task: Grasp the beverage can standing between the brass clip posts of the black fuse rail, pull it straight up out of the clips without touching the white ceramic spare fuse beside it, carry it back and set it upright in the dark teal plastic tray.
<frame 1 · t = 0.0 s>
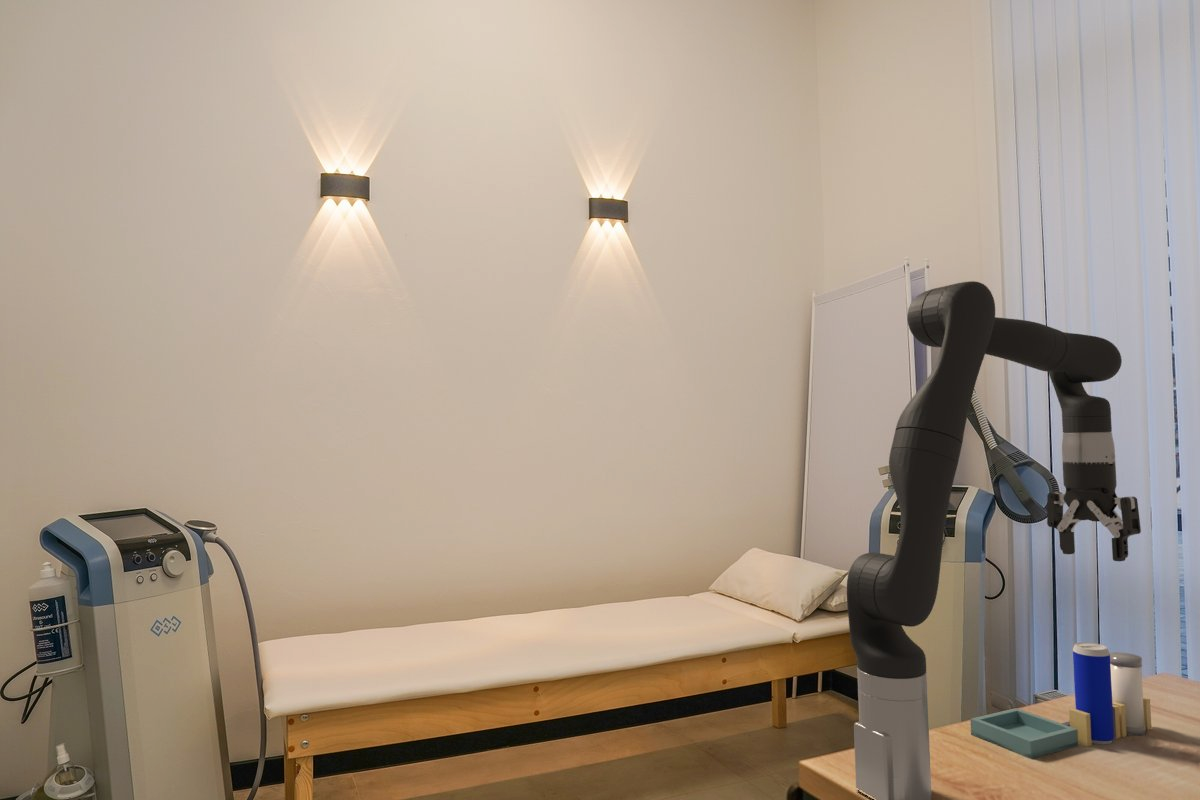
hand: (1093, 557, 130), 29 cm above the table, fingers open, 8 cm apart
tray: (1023, 739, 127), on the table
beverage can: (1095, 740, 127), on the table
spare fuse: (1128, 730, 131), on the table
fuse block: (1095, 739, 127), on the table
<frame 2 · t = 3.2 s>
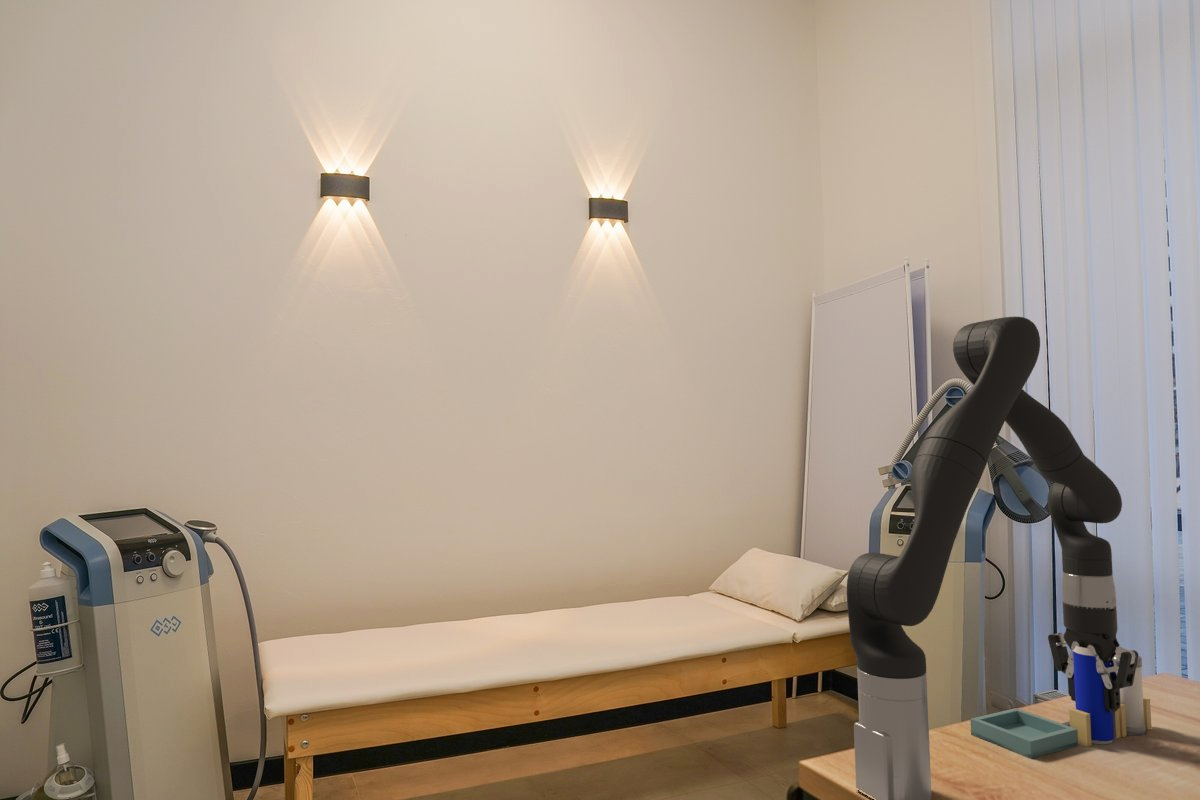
hand: (1094, 705, 127), 5 cm above the table, fingers closed on beverage can, 5 cm apart
beverage can: (1095, 740, 127), on the table, touching gripper
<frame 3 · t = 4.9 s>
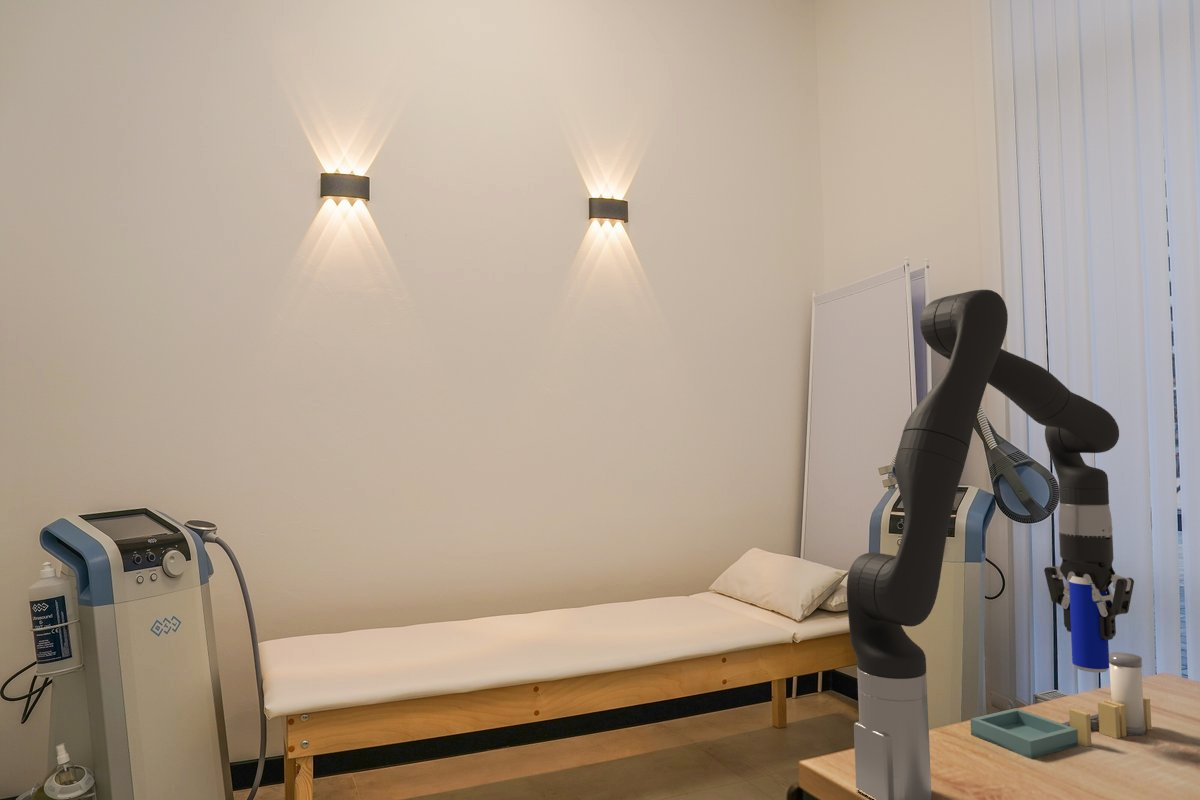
hand: (1089, 634, 128), 17 cm above the table, fingers closed on beverage can, 5 cm apart
beverage can: (1090, 669, 128), point 11 cm above the table, touching gripper
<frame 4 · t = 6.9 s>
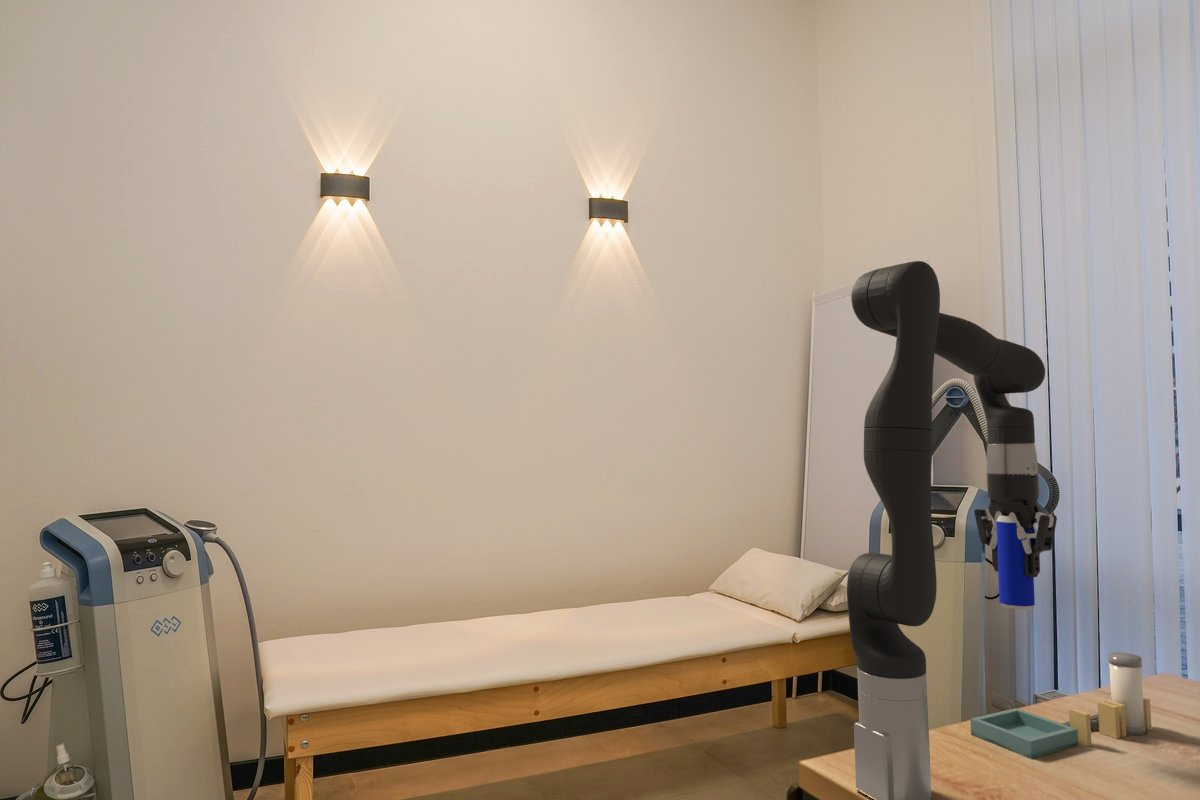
hand: (1016, 573, 129), 27 cm above the table, fingers closed on beverage can, 5 cm apart
beverage can: (1017, 608, 128), point 21 cm above the table, touching gripper
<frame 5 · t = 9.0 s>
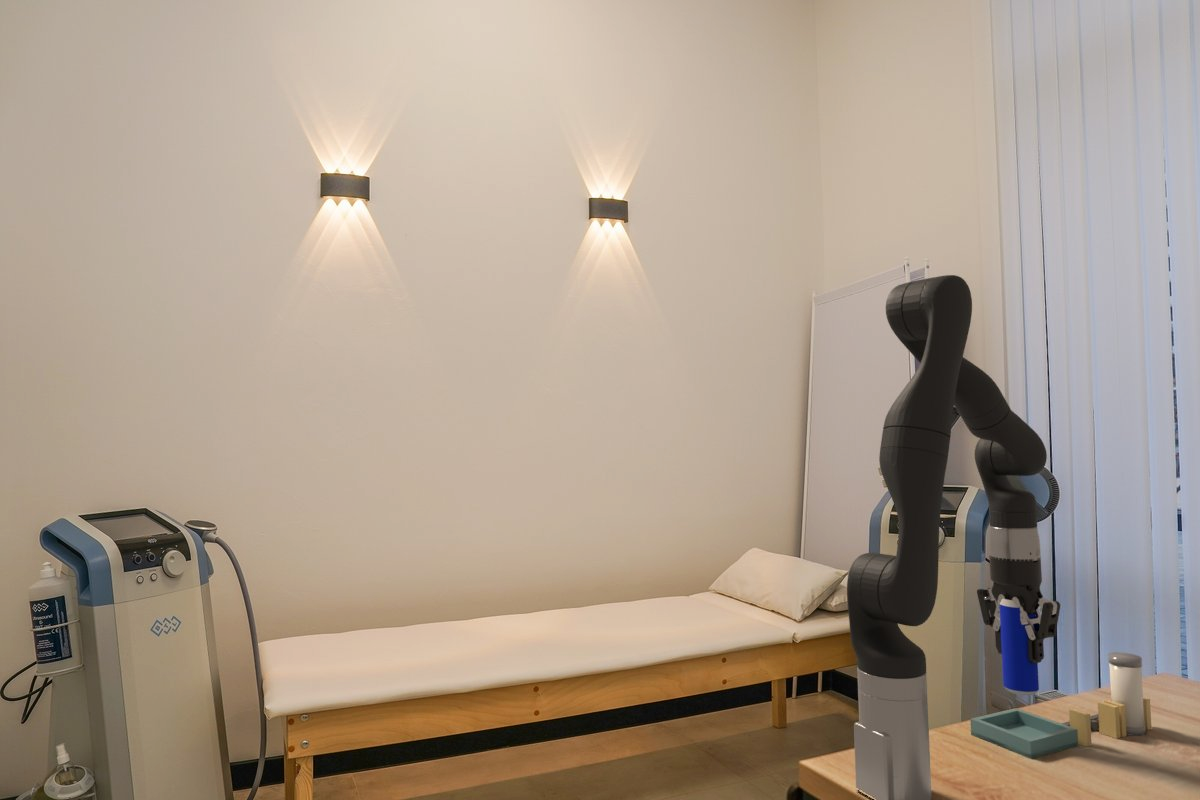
hand: (1019, 657, 128), 13 cm above the table, fingers closed on beverage can, 5 cm apart
beverage can: (1021, 691, 128), point 8 cm above the table, touching gripper
when the fingers open (7 cm above the table, at t = 10.6 s): beverage can stays where it is, resting on tray.
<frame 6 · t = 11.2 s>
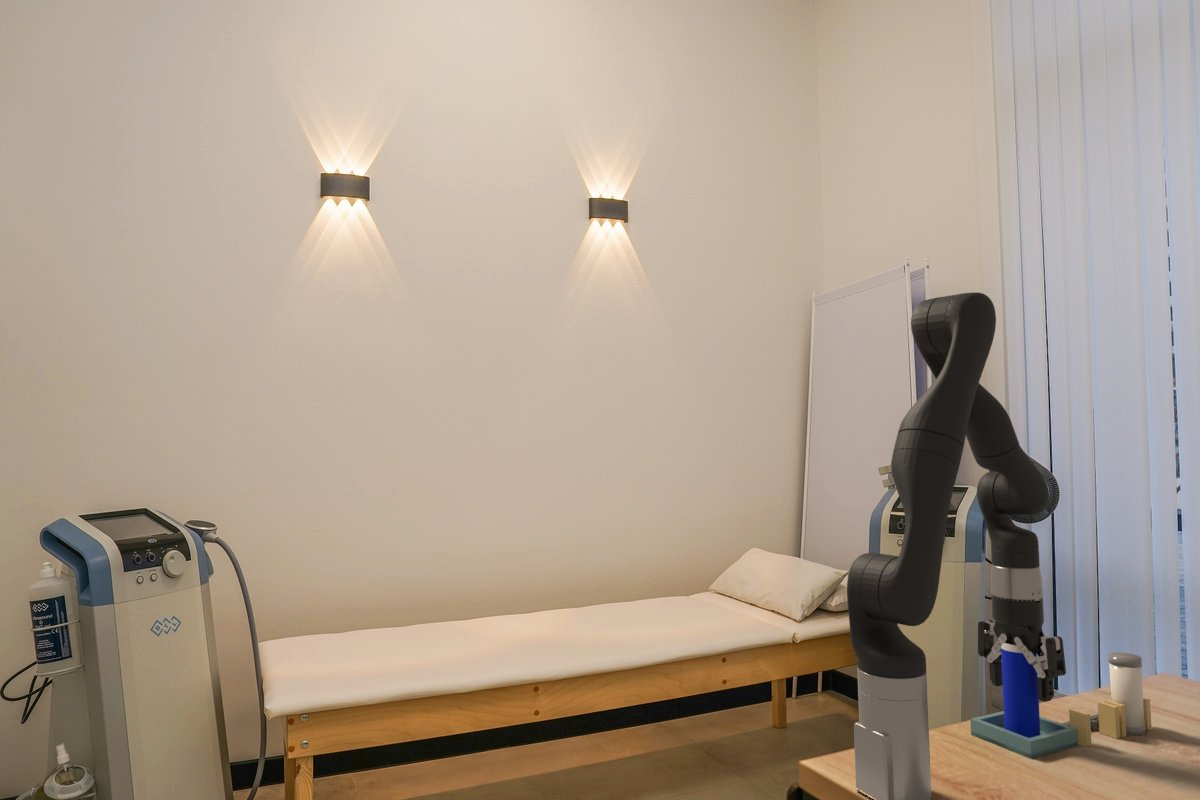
hand: (1021, 692, 128), 8 cm above the table, fingers open, 8 cm apart
beverage can: (1022, 737, 127), resting on tray
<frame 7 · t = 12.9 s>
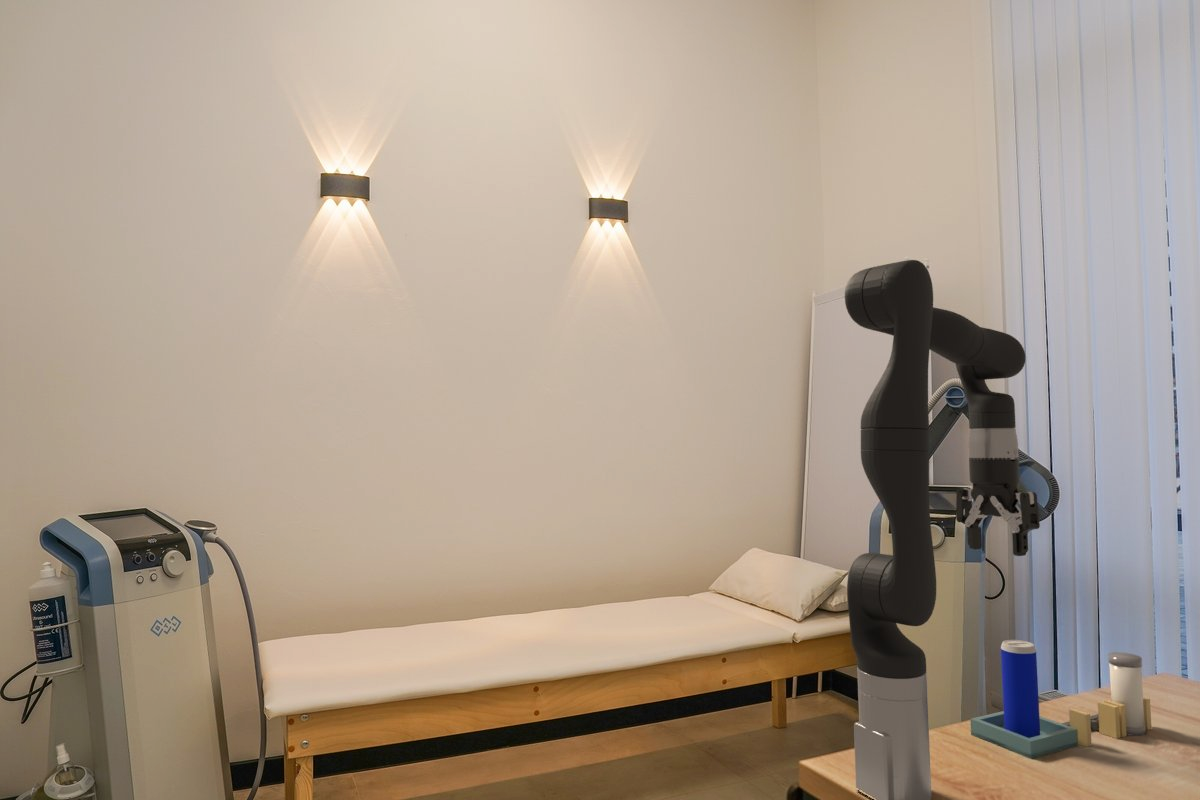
hand: (997, 552, 131), 30 cm above the table, fingers open, 8 cm apart
nothing on the table moved.
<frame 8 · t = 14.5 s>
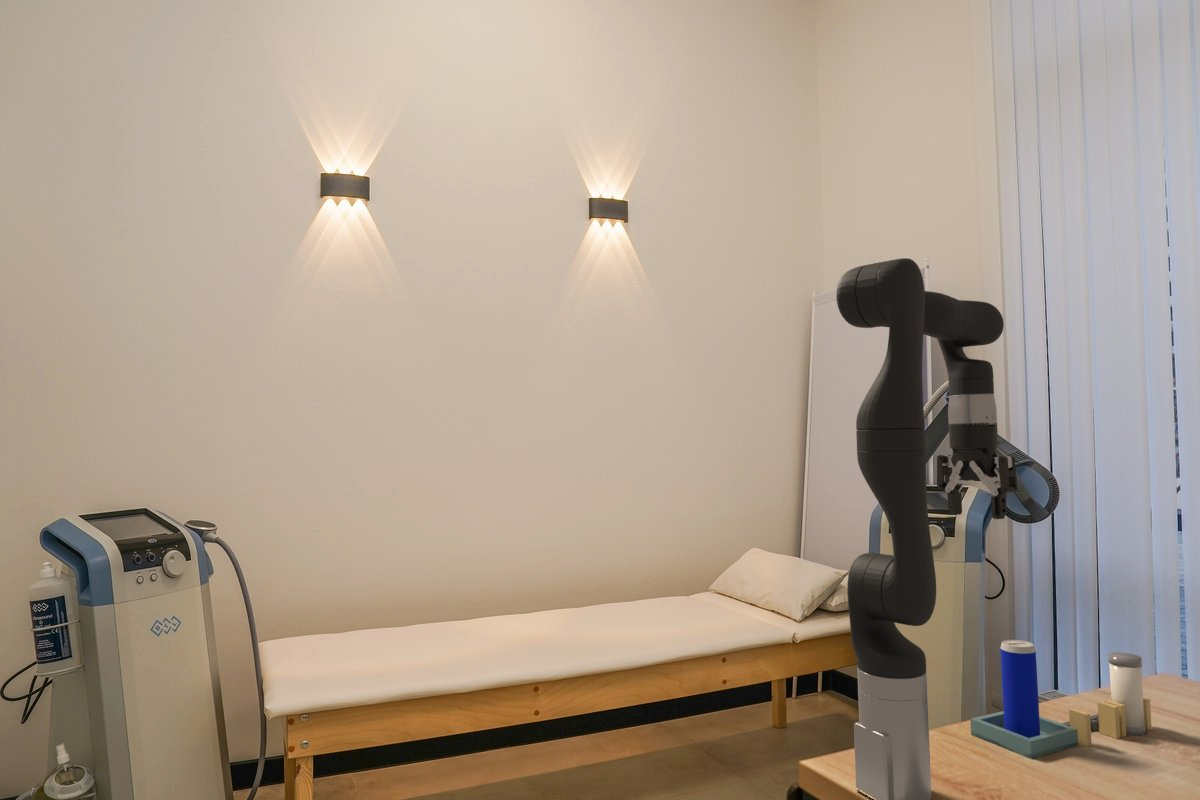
hand: (976, 516, 133), 36 cm above the table, fingers open, 8 cm apart
nothing on the table moved.
at the end: beverage can inside the target area on the tray (0.1 cm from its centre), point 0.4 cm above the tray's base; beverage can tilted 0°; the gripper is holding nothing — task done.
